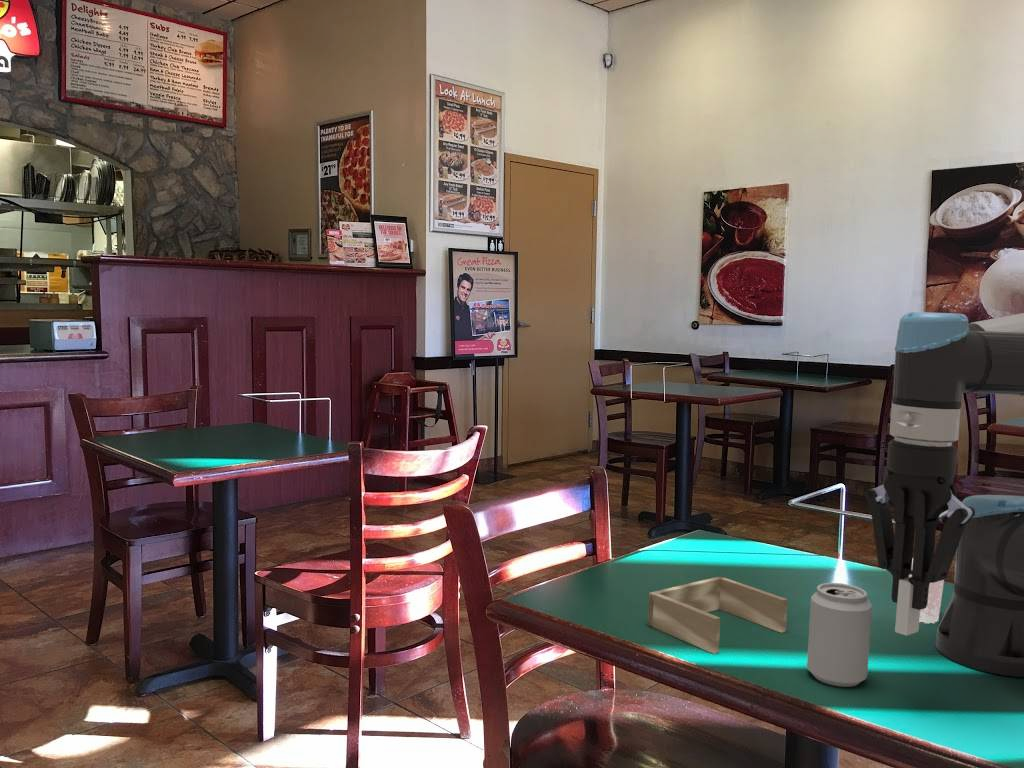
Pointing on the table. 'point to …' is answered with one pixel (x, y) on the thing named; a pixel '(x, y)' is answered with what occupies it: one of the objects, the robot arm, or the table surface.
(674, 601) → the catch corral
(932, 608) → the beverage cup
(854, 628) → the can
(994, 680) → the table surface
